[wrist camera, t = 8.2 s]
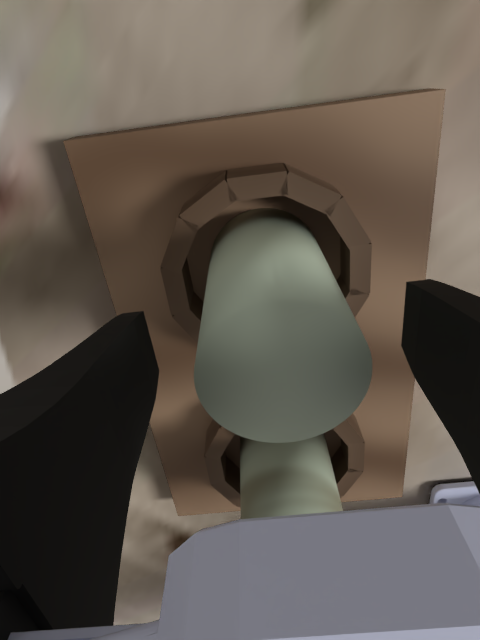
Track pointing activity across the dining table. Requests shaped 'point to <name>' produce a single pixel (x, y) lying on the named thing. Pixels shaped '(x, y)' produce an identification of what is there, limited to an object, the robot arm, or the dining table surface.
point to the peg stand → (335, 243)
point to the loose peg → (277, 334)
